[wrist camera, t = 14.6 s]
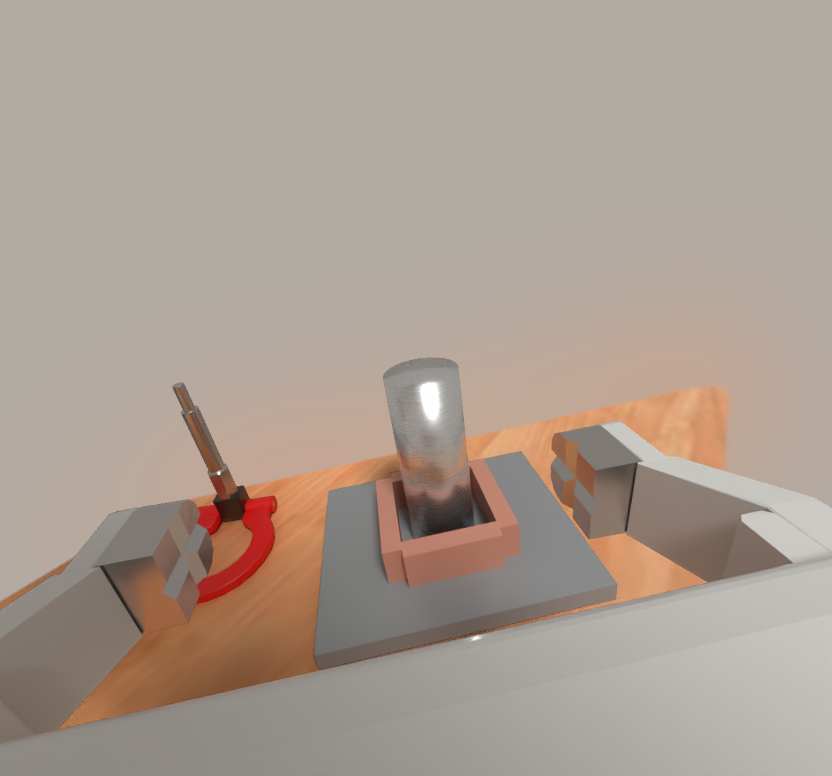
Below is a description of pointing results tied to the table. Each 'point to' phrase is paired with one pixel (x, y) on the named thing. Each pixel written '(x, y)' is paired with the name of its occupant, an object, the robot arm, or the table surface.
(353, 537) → the keeper
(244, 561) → the tow hook
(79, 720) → the table surface
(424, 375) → the brushed steel cylinder
